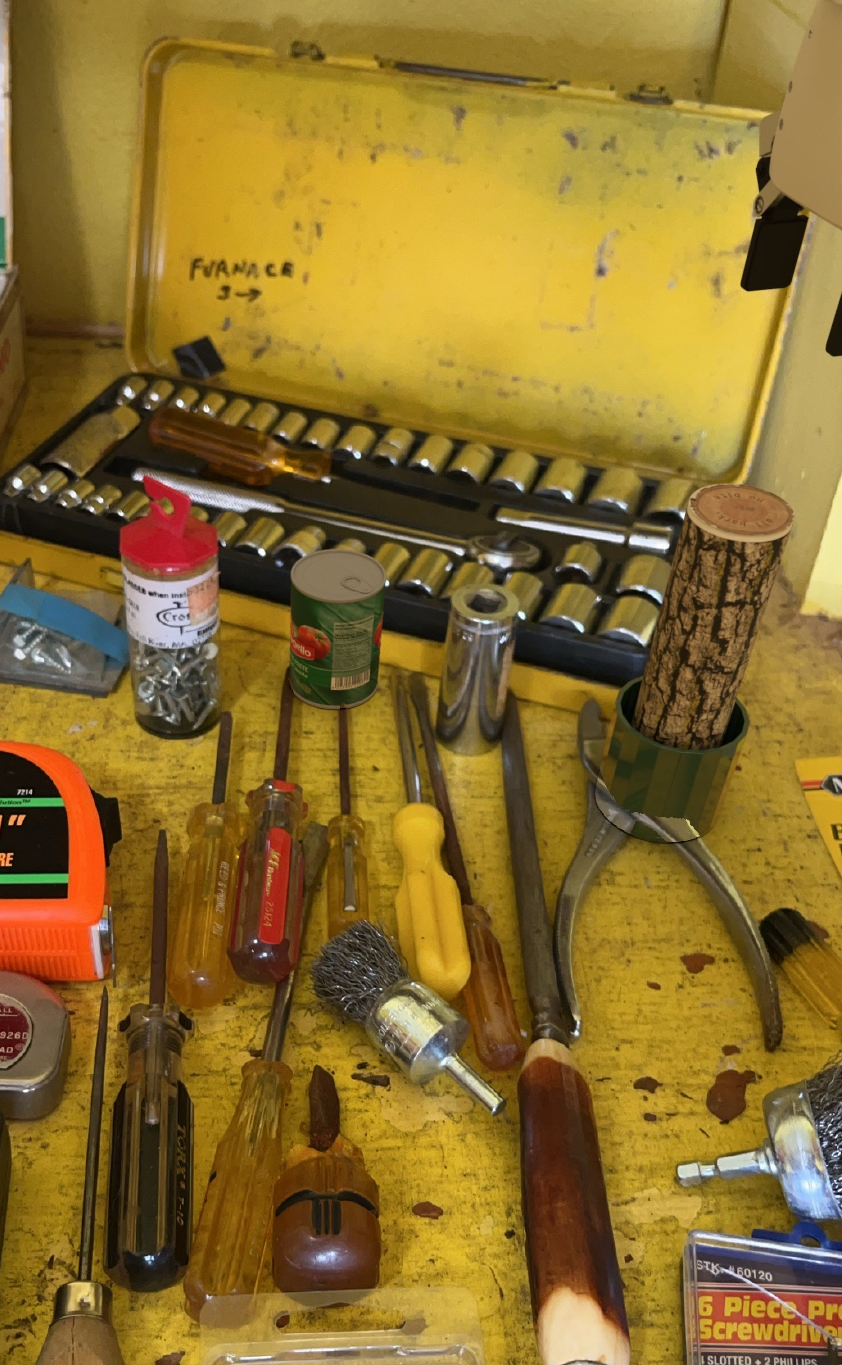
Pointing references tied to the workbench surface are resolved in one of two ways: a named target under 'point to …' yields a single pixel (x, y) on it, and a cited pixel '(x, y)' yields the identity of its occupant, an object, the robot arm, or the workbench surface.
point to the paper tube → (711, 613)
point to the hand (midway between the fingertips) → (805, 318)
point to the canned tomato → (336, 627)
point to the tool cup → (668, 769)
